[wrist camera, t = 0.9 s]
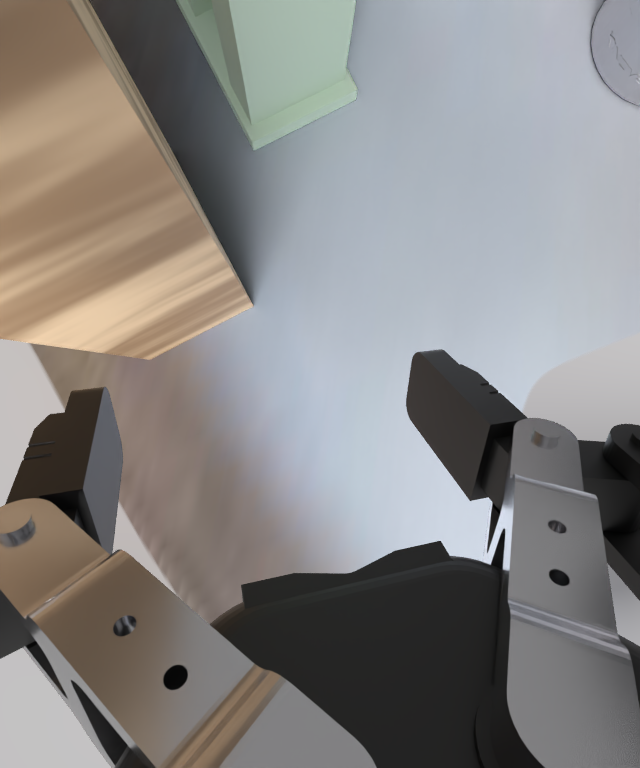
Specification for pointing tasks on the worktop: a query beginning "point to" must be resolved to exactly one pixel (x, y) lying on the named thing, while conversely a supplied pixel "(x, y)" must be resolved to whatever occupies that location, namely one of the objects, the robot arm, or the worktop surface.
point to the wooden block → (95, 199)
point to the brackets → (276, 59)
